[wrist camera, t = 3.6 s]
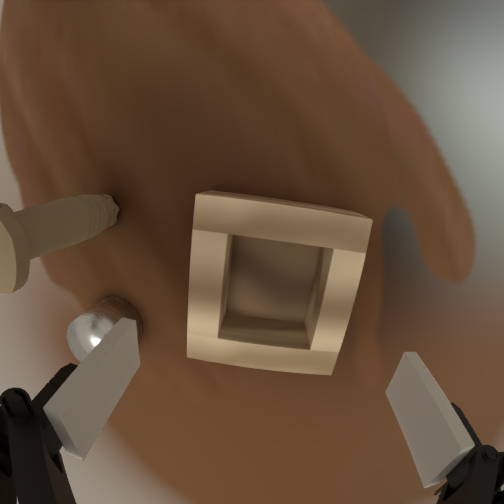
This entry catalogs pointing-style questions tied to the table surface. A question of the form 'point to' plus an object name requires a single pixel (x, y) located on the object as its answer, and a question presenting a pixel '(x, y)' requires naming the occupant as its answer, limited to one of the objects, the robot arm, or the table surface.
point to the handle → (48, 231)
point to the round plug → (99, 324)
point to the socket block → (272, 281)
